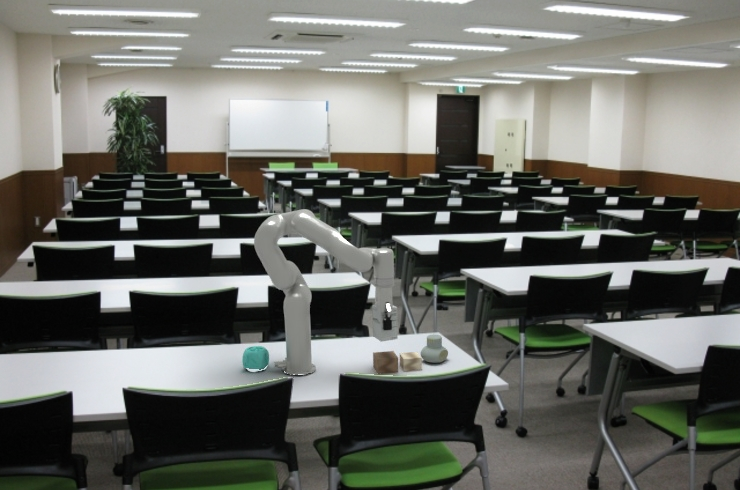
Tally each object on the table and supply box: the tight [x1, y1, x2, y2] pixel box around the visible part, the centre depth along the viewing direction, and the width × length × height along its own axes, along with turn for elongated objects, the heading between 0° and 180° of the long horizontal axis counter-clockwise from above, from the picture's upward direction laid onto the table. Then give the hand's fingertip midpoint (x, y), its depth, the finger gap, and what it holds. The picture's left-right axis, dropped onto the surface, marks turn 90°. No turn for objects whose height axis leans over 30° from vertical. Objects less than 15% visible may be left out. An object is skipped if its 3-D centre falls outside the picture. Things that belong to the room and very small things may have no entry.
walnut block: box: [372, 350, 399, 375], centre depth 277 cm, size 8×8×6 cm
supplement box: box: [371, 304, 399, 343], centre depth 274 cm, size 7×7×13 cm
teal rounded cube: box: [241, 345, 270, 370], centre depth 280 cm, size 8×8×8 cm
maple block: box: [399, 351, 423, 372], centre depth 279 cm, size 7×7×5 cm
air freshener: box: [420, 333, 449, 364], centre depth 286 cm, size 11×8×10 cm
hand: (384, 326), depth 274 cm, fingers closed on supplement box, 8 cm apart
